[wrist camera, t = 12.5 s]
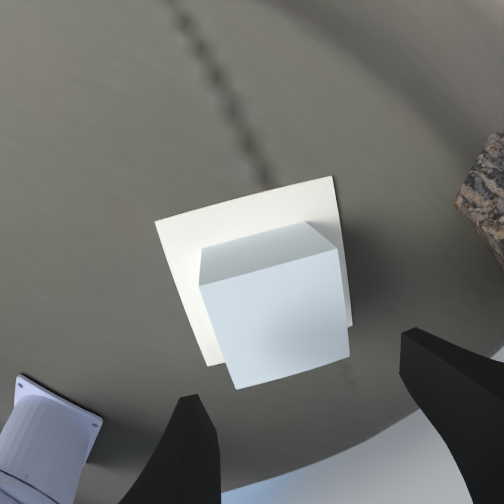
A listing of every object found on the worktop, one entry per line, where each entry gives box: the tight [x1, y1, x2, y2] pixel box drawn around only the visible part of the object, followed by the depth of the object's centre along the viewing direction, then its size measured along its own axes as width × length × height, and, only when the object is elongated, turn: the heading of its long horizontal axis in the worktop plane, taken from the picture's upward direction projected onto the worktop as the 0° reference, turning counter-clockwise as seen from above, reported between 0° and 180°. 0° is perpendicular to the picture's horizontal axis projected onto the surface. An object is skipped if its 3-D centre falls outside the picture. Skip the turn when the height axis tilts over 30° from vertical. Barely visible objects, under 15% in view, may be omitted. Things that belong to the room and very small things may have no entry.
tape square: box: [155, 176, 353, 366], centre depth 19 cm, size 10×10×1 cm
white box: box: [199, 221, 350, 389], centre depth 16 cm, size 6×6×5 cm
